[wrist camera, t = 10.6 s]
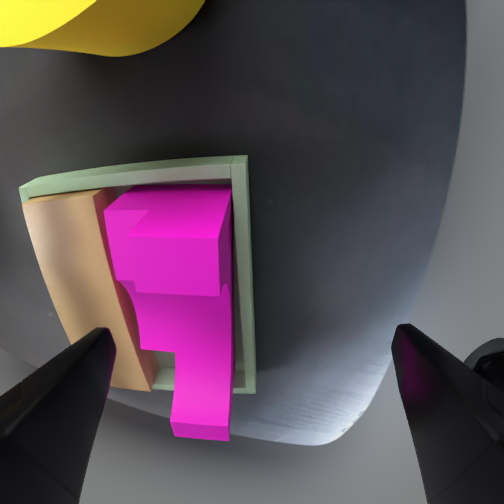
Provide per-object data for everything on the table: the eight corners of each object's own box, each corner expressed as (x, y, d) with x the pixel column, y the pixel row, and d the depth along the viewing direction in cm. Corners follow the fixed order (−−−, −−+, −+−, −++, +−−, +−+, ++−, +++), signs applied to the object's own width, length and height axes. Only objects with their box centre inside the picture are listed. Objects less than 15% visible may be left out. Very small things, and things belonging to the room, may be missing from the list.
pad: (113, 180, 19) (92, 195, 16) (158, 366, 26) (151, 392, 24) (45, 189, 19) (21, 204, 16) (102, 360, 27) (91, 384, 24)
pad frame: (247, 154, 19) (245, 163, 16) (256, 372, 27) (256, 393, 25) (37, 177, 19) (18, 187, 17) (98, 363, 28) (90, 381, 25)
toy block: (133, 185, 19) (75, 236, 12) (233, 184, 19) (217, 238, 12) (162, 359, 26) (141, 431, 19) (235, 364, 26) (228, 440, 19)
